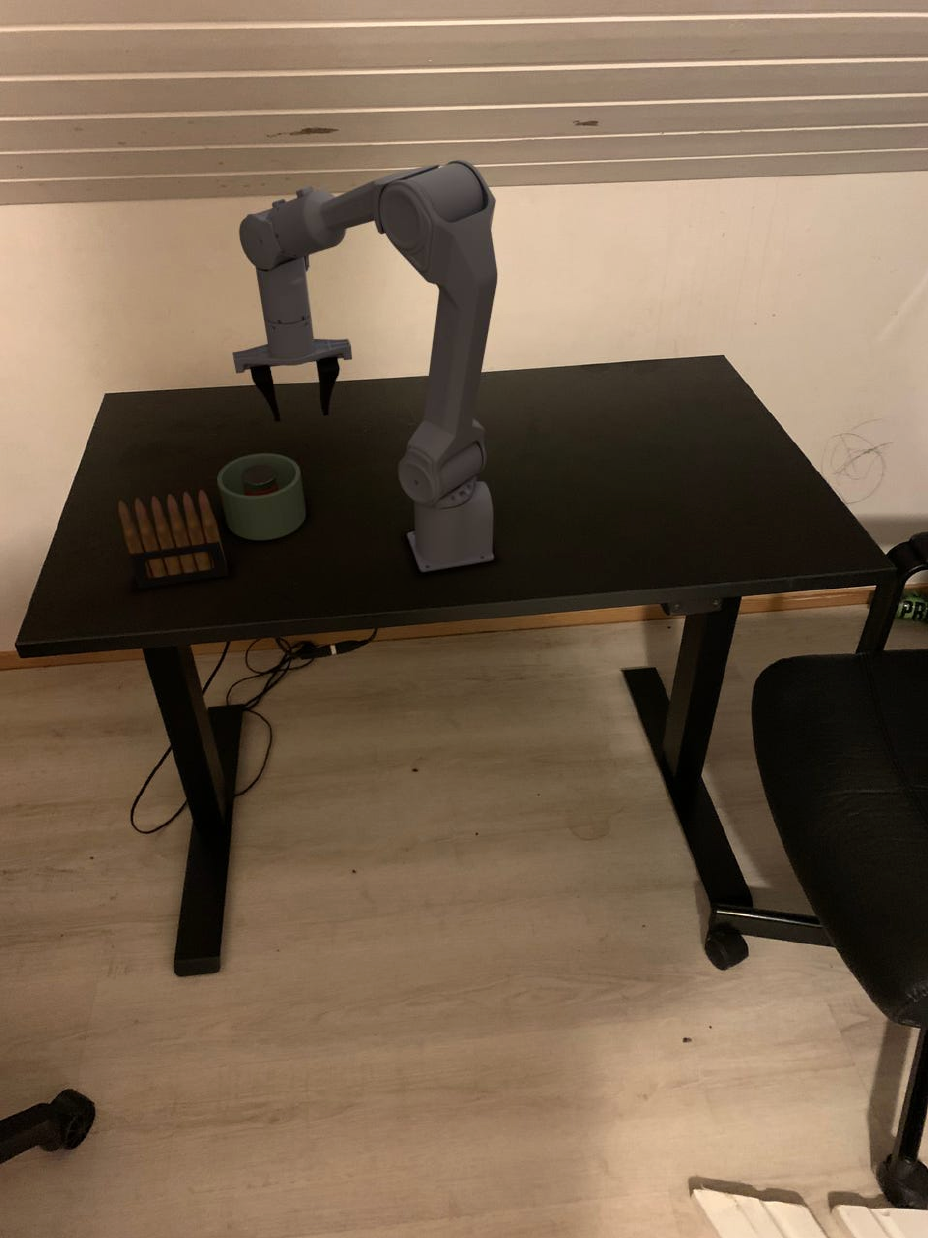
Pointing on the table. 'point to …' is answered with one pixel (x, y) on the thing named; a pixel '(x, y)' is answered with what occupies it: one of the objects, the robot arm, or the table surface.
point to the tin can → (259, 480)
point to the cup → (262, 499)
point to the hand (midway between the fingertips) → (301, 414)
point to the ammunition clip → (173, 543)
